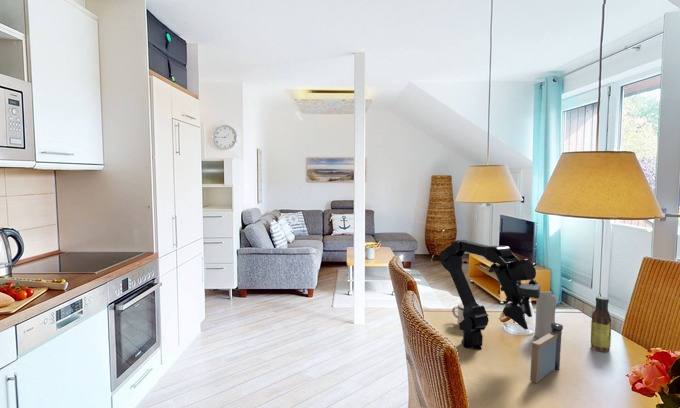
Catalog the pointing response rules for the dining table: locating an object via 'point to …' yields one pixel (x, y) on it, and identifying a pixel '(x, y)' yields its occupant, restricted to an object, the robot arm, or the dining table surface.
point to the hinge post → (557, 342)
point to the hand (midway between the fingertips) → (528, 322)
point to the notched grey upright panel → (545, 313)
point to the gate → (543, 356)
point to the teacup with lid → (459, 312)
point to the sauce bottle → (601, 326)
